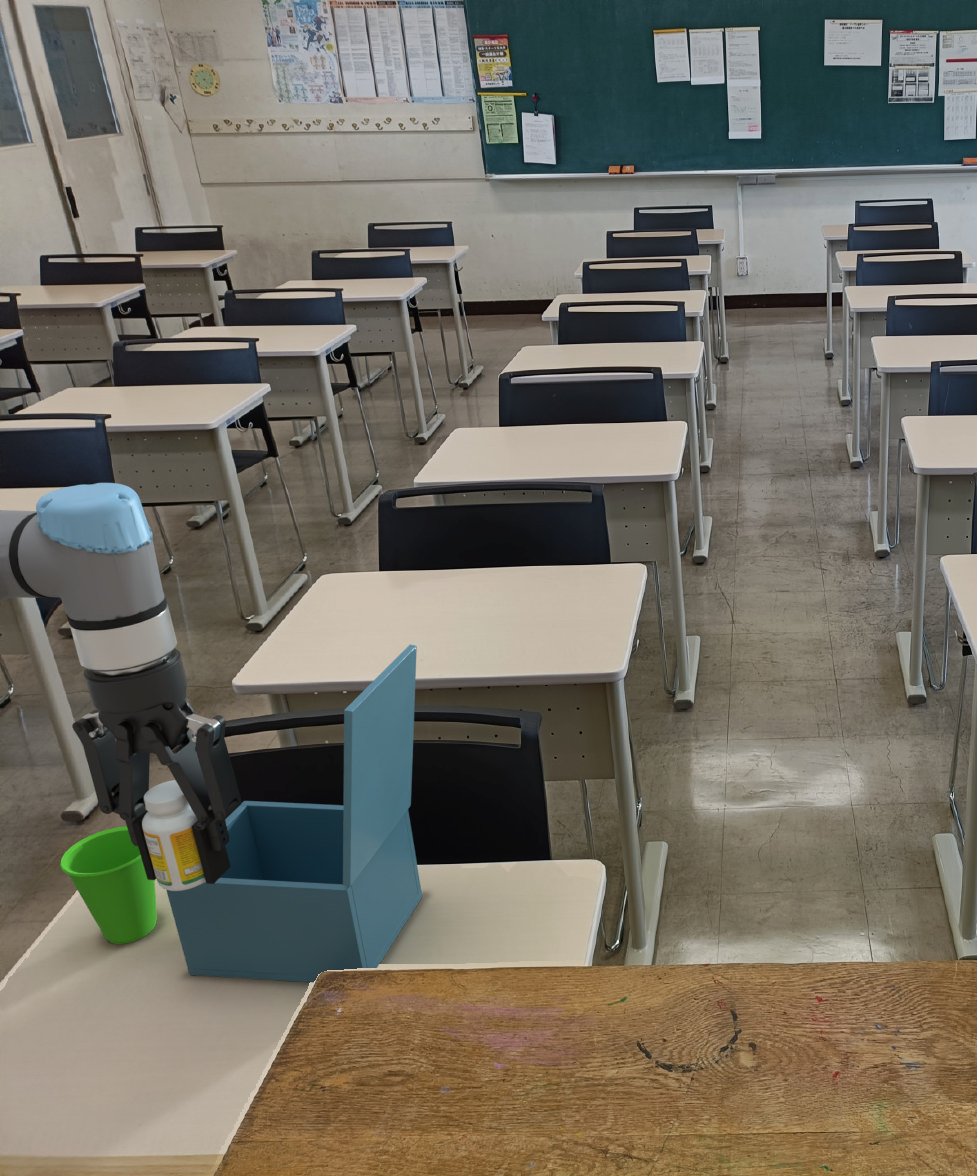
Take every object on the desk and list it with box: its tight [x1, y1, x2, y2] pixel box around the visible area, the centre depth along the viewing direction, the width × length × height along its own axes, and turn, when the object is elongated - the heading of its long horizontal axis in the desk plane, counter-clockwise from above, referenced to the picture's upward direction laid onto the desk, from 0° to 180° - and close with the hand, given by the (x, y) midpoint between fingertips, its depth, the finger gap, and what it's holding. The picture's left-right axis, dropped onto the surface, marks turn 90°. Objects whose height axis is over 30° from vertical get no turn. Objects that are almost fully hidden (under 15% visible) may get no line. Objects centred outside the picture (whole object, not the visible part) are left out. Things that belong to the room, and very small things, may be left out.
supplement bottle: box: [142, 779, 206, 891], centre depth 100 cm, size 5×5×10 cm
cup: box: [59, 825, 158, 945], centre depth 117 cm, size 9×9×11 cm
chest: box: [165, 800, 423, 983], centre depth 116 cm, size 20×15×12 cm
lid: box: [343, 644, 418, 887], centre depth 109 cm, size 21×15×1 cm
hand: (189, 872), depth 101 cm, fingers closed on supplement bottle, 5 cm apart
